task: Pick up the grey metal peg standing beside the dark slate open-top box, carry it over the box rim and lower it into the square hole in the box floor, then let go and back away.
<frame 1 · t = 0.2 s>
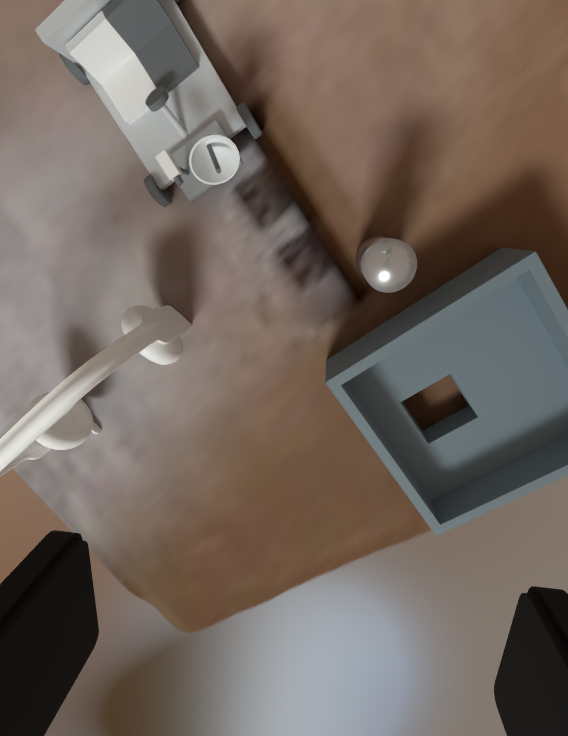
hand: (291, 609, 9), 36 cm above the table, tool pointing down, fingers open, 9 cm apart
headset: (130, 364, 48), on the table
open box: (457, 384, 44), on the table
peg: (376, 257, 41), on the table
toy car: (177, 112, 39), on the table
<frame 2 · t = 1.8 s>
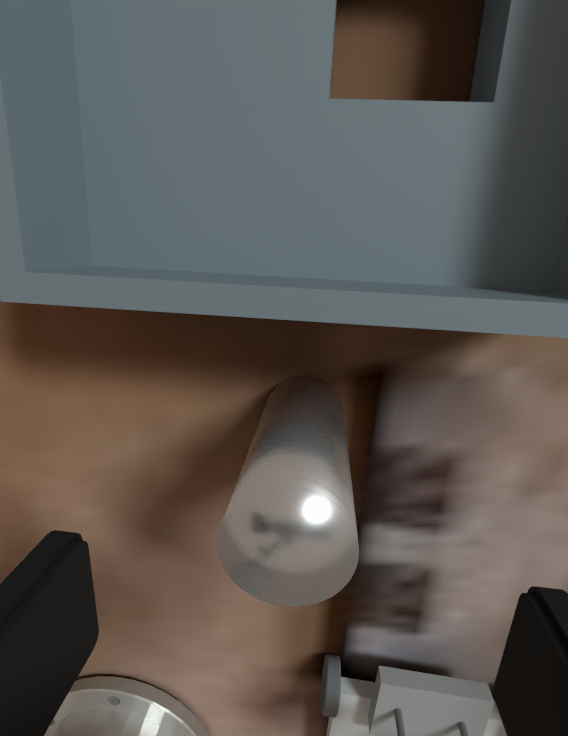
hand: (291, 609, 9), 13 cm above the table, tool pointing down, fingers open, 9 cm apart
open box: (328, 43, 17), on the table
peg: (304, 413, 21), on the table
toy car: (401, 725, 28), on the table
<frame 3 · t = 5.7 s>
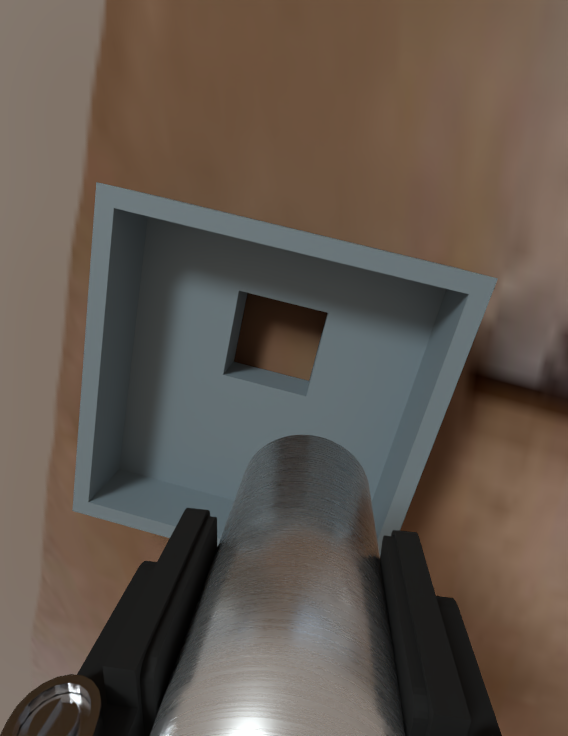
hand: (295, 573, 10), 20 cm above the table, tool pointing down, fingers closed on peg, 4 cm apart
open box: (270, 373, 30), on the table
peg: (304, 491, 13), point 17 cm above the table, touching gripper
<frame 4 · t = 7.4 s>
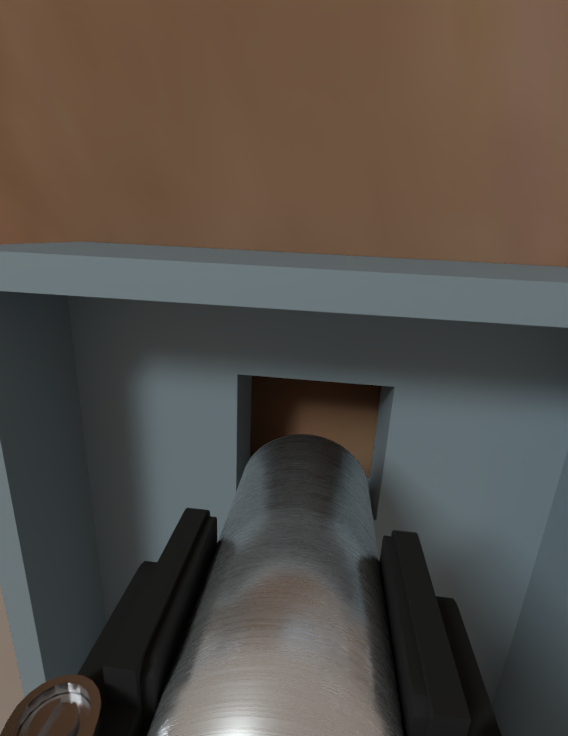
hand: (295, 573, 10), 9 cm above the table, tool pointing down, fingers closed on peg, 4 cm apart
open box: (308, 475, 19), on the table
peg: (303, 491, 13), point 6 cm above the table, touching gripper
when the fingers open (5 cm above the table, at t = 8.4 s): peg drops 2 cm, resting in open box.
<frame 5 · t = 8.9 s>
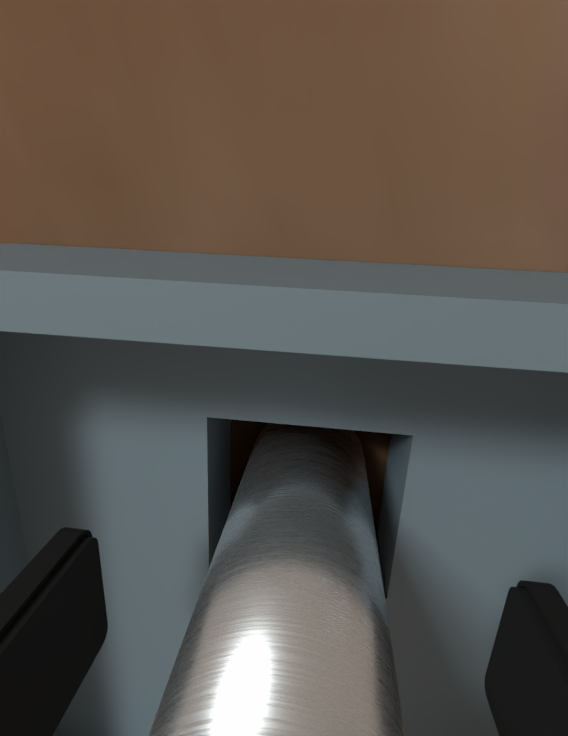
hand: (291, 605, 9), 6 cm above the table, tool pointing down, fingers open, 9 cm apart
open box: (302, 528, 16), on the table
peg: (307, 459, 15), resting in open box
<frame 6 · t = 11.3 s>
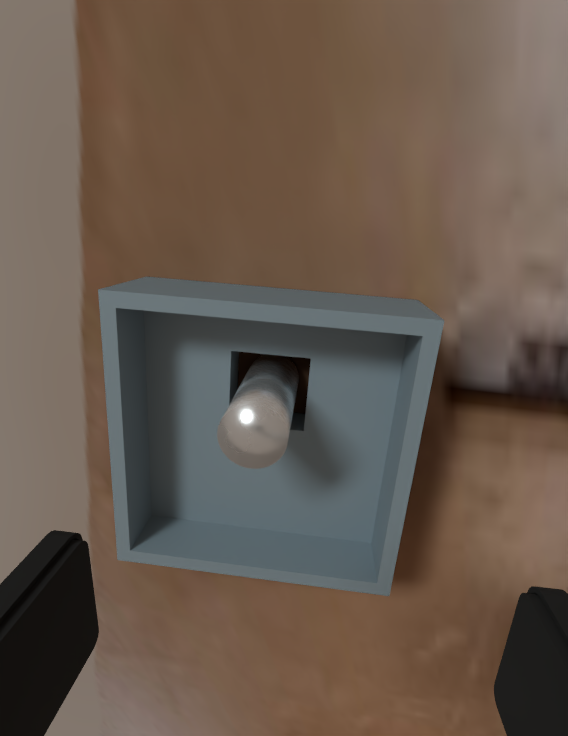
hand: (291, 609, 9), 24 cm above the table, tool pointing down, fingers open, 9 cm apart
open box: (270, 412, 34), on the table
peg: (273, 377, 33), resting in open box
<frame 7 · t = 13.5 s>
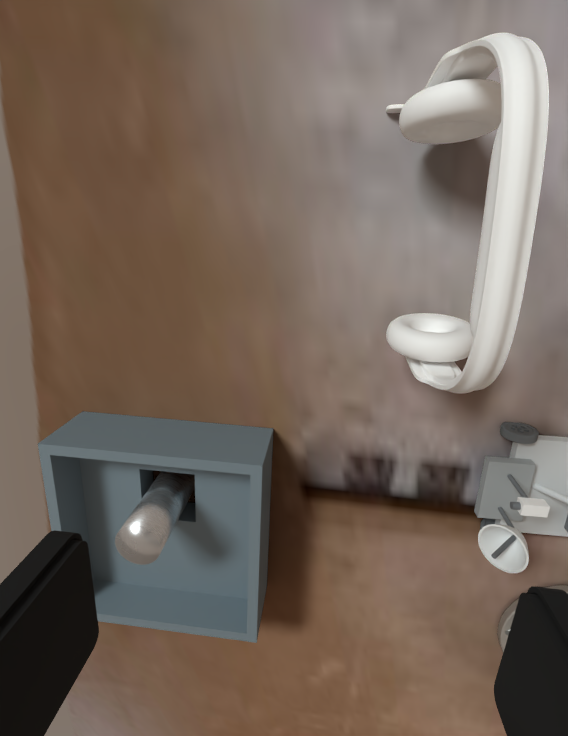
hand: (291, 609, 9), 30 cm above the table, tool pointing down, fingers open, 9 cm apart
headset: (422, 234, 35), on the table
open box: (179, 502, 46), on the table
peg: (178, 479, 45), resting in open box
toy car: (552, 477, 41), on the table
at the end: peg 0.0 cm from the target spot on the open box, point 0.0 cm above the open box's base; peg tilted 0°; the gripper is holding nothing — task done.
